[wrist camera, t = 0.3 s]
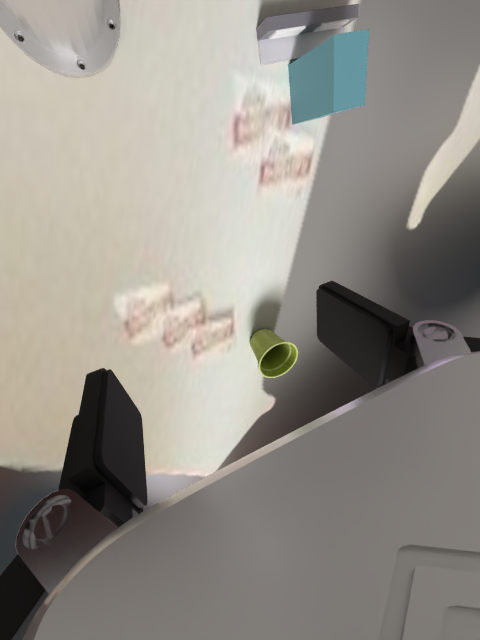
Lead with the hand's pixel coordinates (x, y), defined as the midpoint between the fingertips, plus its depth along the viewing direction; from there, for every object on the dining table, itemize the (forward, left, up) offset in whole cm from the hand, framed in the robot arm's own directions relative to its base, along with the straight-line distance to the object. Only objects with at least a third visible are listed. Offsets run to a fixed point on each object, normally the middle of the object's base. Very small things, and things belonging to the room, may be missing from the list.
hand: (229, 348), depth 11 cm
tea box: (-12, +29, -36) cm, 47 cm away
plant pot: (+31, +14, -36) cm, 50 cm away
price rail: (-17, +29, -36) cm, 49 cm away
